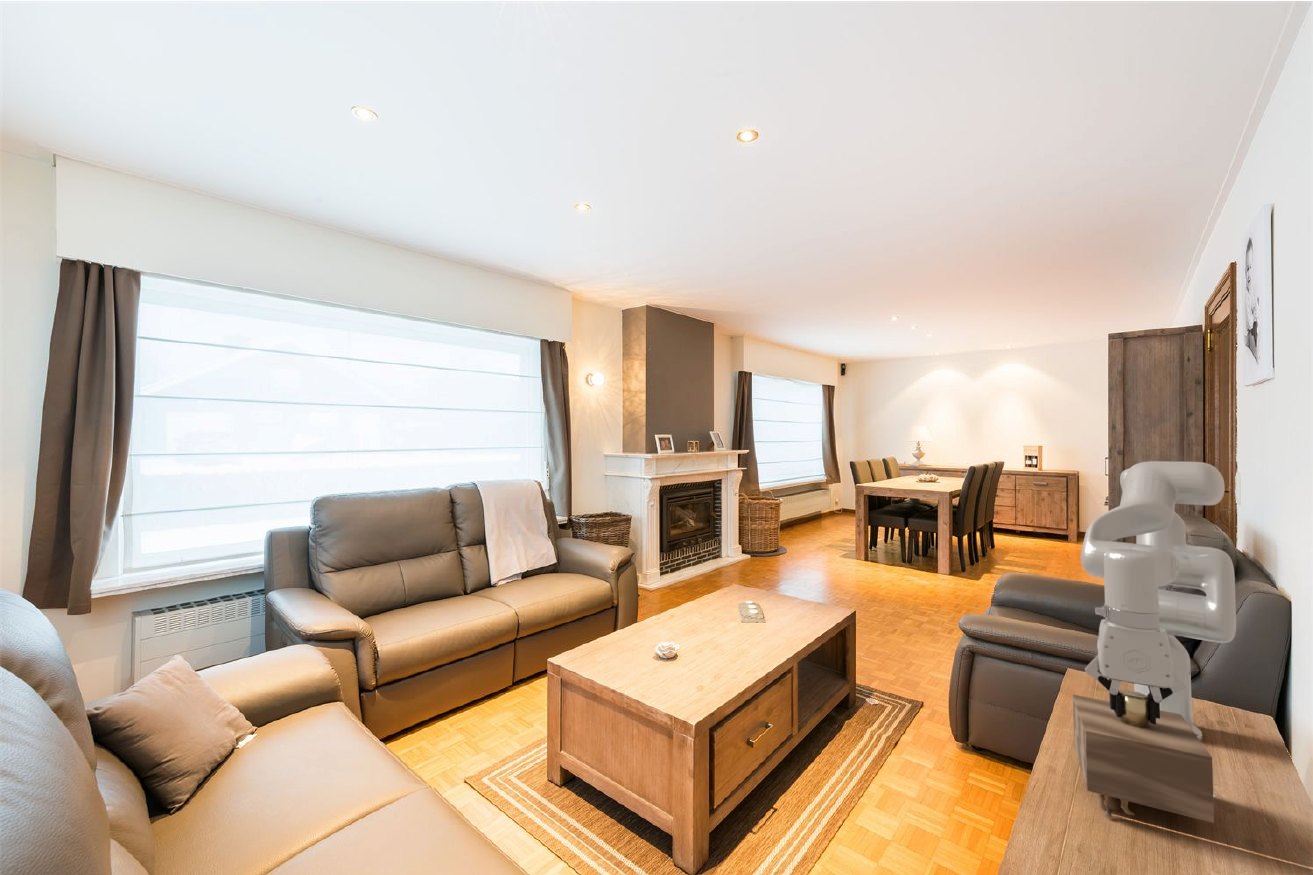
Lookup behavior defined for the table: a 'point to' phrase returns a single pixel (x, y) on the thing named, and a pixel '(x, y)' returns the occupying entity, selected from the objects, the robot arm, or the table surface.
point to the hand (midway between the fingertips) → (1134, 716)
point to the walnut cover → (1143, 756)
